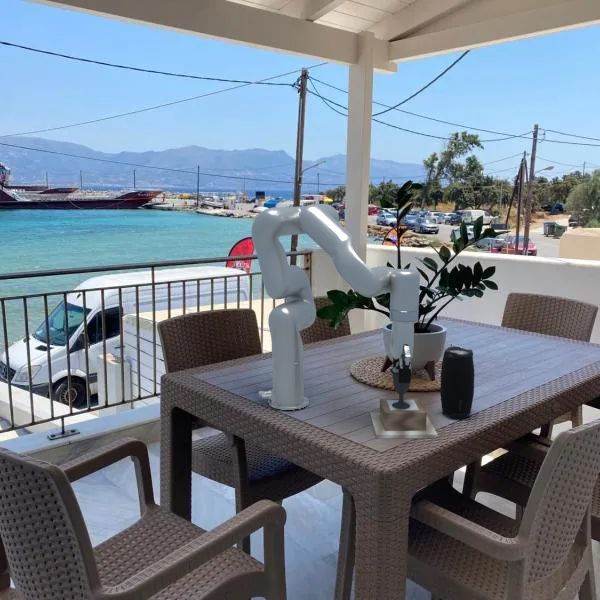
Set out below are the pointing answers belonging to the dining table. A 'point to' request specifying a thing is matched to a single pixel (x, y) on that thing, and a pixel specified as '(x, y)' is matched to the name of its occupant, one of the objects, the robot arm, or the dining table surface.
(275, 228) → the robot arm
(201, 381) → the dining table surface
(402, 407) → the sundae
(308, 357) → the dining table surface
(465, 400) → the portable speaker
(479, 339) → the dining table surface
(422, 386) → the dining table surface
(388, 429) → the pedestal
